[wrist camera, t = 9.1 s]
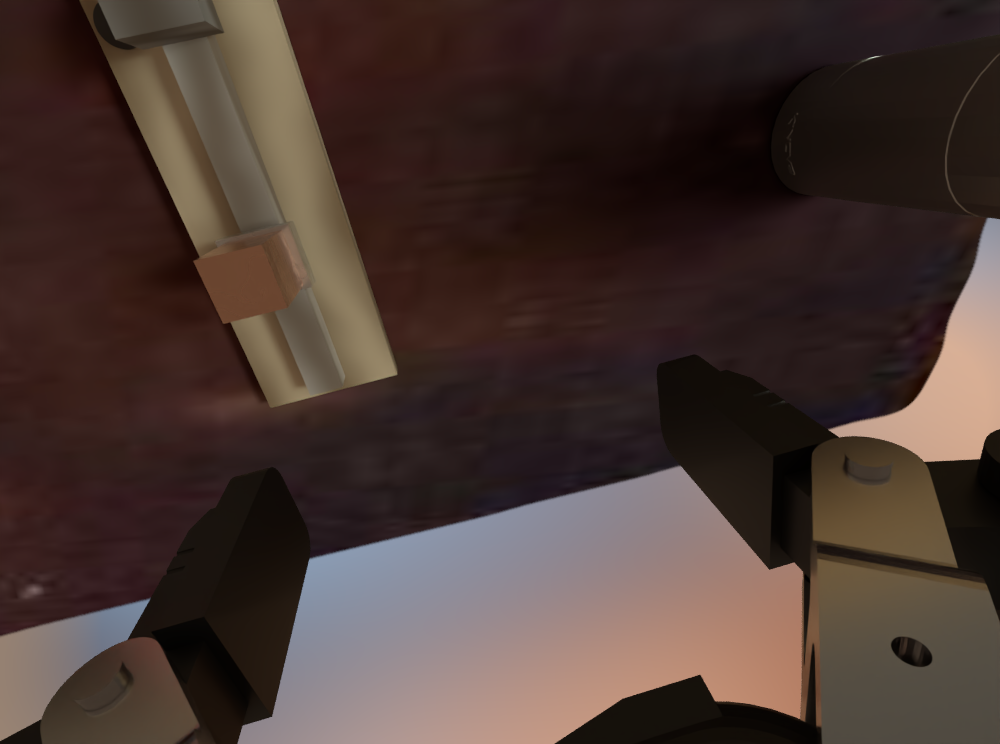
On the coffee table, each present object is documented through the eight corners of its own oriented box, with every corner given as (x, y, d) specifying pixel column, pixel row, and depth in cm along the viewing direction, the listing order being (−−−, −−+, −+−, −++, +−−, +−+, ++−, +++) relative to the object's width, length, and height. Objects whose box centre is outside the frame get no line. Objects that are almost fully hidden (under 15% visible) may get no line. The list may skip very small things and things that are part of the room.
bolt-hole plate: (241, -107, 28) (199, -172, 23) (397, 367, 41) (396, 404, 36) (58, -72, 28) (-34, -129, 22) (275, 399, 41) (253, 441, 35)
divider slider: (298, 216, 34) (268, 237, 26) (320, 273, 36) (297, 310, 28) (232, 232, 34) (182, 258, 26) (257, 289, 35) (216, 330, 28)
